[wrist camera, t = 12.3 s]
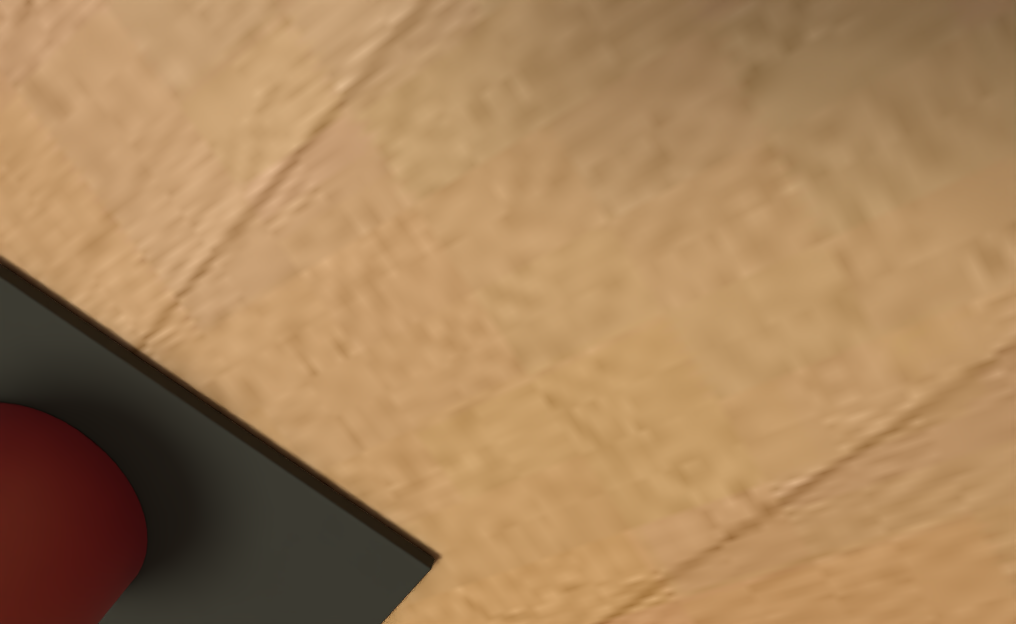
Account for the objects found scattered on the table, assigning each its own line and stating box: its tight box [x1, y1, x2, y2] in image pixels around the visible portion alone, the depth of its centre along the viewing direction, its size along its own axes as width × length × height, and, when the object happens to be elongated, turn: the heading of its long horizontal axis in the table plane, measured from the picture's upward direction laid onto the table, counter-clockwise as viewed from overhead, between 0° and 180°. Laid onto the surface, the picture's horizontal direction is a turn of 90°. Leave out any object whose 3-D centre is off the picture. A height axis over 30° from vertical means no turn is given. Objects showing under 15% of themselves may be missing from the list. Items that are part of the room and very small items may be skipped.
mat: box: [0, 264, 434, 624], centre depth 25 cm, size 18×12×1 cm, turn 55°
